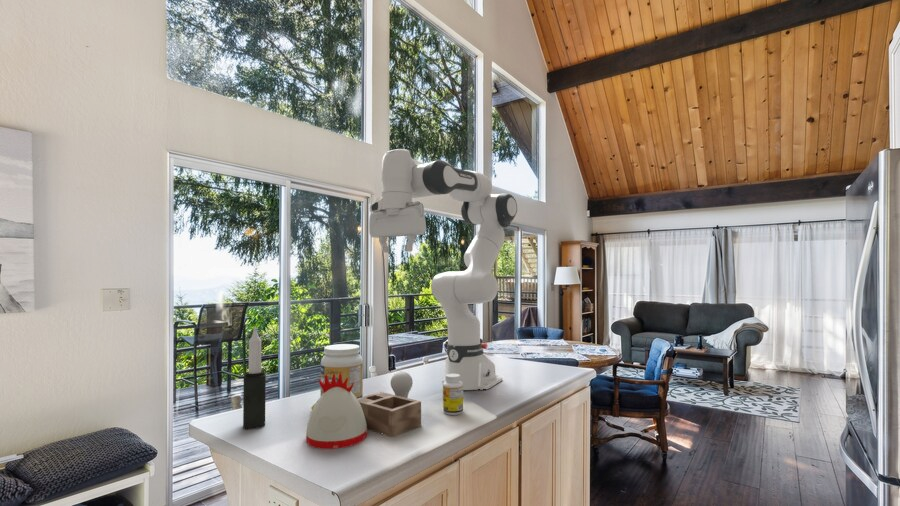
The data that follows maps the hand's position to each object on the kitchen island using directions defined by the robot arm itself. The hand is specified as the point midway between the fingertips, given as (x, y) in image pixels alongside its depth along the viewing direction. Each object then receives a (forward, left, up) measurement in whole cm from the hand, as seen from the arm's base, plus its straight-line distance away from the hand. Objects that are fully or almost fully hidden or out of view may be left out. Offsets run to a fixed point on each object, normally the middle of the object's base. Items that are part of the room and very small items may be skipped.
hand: (396, 252), depth 127 cm
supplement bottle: (-7, +15, -45) cm, 48 cm away
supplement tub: (+7, -16, -45) cm, 48 cm away
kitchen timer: (+24, +4, -45) cm, 51 cm away
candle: (+32, -19, -45) cm, 58 cm away
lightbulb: (+1, +3, -45) cm, 45 cm away
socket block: (+11, +7, -45) cm, 47 cm away
